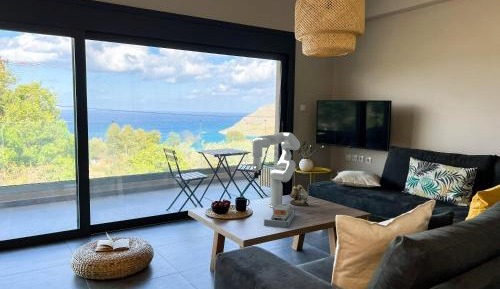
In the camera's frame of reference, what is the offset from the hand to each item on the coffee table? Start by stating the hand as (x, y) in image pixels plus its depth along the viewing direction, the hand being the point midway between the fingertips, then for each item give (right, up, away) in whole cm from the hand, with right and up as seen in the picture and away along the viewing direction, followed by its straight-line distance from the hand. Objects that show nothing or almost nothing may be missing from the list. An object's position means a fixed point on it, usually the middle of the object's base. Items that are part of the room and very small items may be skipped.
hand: (257, 176), depth 288 cm
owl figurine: (+36, -27, +31) cm, 55 cm away
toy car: (+17, -31, -15) cm, 39 cm away
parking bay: (+16, -31, -14) cm, 38 cm away
